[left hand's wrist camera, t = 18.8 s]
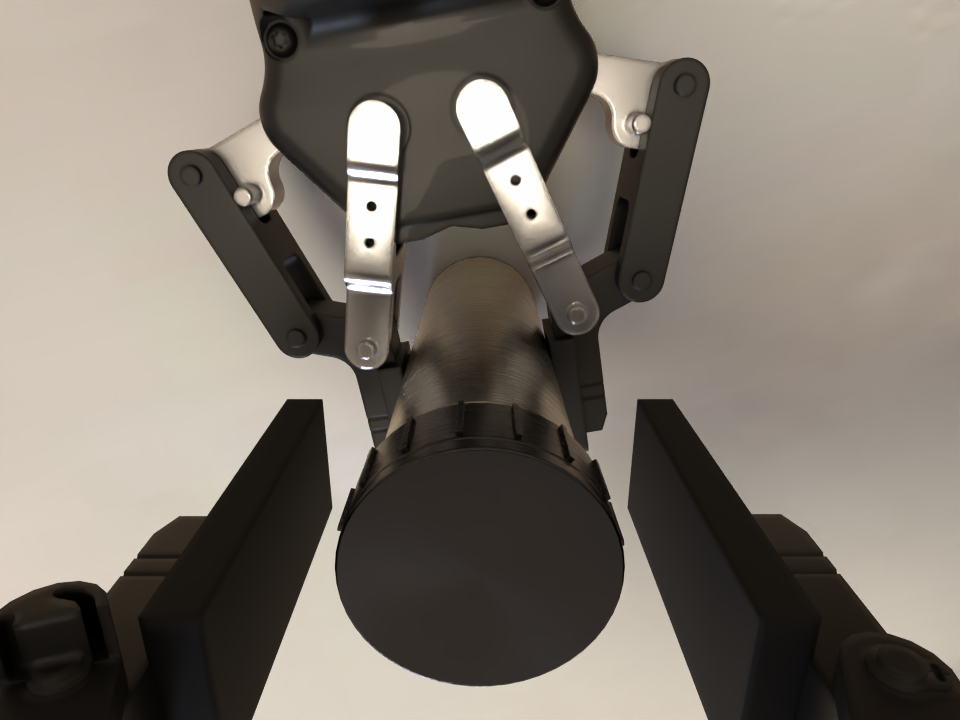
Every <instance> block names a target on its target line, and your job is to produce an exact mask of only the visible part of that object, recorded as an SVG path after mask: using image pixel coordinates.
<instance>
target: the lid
mask: <svg viewBox="0 0 960 720" xmlns="http://www.w3.org/2000/svg"><path fill="white" fill-rule="evenodd" d="M609 499H611V498H610V495H609V492H608V489H607V486H606V484H605V481H604V478H603V475H602V472H601V469H600V466H599V463H598V461H597V460H596V459H595V460H593V461H592V460H591V458H590V457H589V455H588V454H587V453H586V451H585V450H584V449H583V448H582V446H581V445H580V444H579V443H578V442H577V441H576V440H575V439H574V438H573V437H572V436H571V435H570V434H569V433H568V432H567V428H566V426H564V425H563V424H561V425H560V426H558V425H556V424H555V423H553V422H551V421H550V420H548V419H546V418H544V417H542V416H540V415H538V414H535V413H533V412H530V411H527V410H525V409H522V408H519V404H515V403H513V404H512V406H509V405H505V404H496V403H464V400H462V401H458V404H455V405H450V406H446V407H442V408H438V409H435V410H432V411H430V412H427V413H425V414H422V415H420V416H418V417H416V418H414V417H413V416H410V417H408V418H407V421H406V423H405V424H403V425H402V426H401V427H399V428H398V429H396V430H395V431H394V432H392V433H391V434H390V435H389V436H388V437H387V438H386V439H385V440H384V441H383V442H382V443H381V444H380V445H379V446H378V447H377V448H376V449H375V448H374V447H372V448H371V449H370V451H369V453H368V456H367V459H366V462H365V465H364V468H363V470H362V473H361V475H360V478H359V480H358V483H357V486H356V489H353V488H351V490H350V493H349V496H348V499H347V502H346V505H345V507H344V510H343V513H342V516H341V519H340V522H339V525H338V529H337V530H338V531H341V533H340V536H339V540H338V545H337V549H336V558H335V574H336V584H337V587H338V591H339V595H340V599H341V601H342V604H343V606H344V608H345V611H346V613H347V615H348V617H349V618H350V620H351V622H352V623H353V625H354V627H355V628H356V629H357V630H358V632H359V633H360V634H361V635H362V637H363V638H364V639H365V640H366V641H367V642H368V643H369V644H370V645H371V646H372V647H373V648H374V649H375V650H376V651H378V652H379V653H380V654H382V655H383V656H384V657H386V658H387V659H388V660H390V661H391V662H393V663H395V664H397V665H398V666H400V667H402V668H404V669H406V670H408V671H410V672H413V673H415V674H417V675H419V676H422V677H425V678H429V679H432V680H435V681H439V682H444V683H449V684H454V685H464V686H496V685H506V684H511V683H516V682H521V681H525V680H528V679H531V678H534V677H537V676H540V675H543V674H545V673H547V672H549V671H552V670H554V669H556V668H558V667H560V666H561V665H563V664H565V663H566V662H568V661H570V660H571V659H573V658H574V657H575V656H577V655H578V654H579V653H581V652H582V651H583V650H584V649H585V648H586V647H588V646H589V645H590V644H591V643H592V642H593V641H594V640H595V639H596V637H597V636H598V635H599V634H600V633H601V631H602V630H603V629H604V628H605V626H606V624H607V623H608V621H609V619H610V618H611V616H612V614H613V613H614V610H615V608H616V605H617V603H618V601H619V598H620V594H621V590H622V586H623V581H624V570H625V563H624V551H623V546H624V539H623V536H622V533H621V530H620V527H619V525H618V522H617V519H616V516H615V513H614V510H613V507H612V504H611V502H609V501H608V500H609Z"/></svg>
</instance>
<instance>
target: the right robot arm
mask: <svg viewBox="0 0 960 720" xmlns="http://www.w3.org/2000/svg"><path fill="white" fill-rule="evenodd" d="M250 4H251V8H252V12H253V16H254V19H255V23H256V27H257V30H258V33H259V37H260V40H261V44H262V47H263V52H264V59H265V77H264V84H263V89H262V93H261V97H260V104H259V112H260V119H258V120H257V121H255V122H253V123H251V124H250V125H248V126H246V127H245V128H243V129H241V130H240V131H238V132H236V133H234V134H233V135H231V136H229V137H228V138H226V139H224V140H222V141H221V142H219V143H217V144H216V145H214V146H212V147H211V148H205V149H196V150H187V151H182V152H179V153H178V154H176V155H175V156H174V157H173V158H172V159H171V161H170V163H169V166H168V178H169V181H170V184H171V185H172V187H173V189H174V190H175V192H176V193H177V195H178V196H179V198H180V199H181V201H182V202H183V204H184V205H185V207H186V208H187V210H188V211H189V213H190V214H191V216H192V217H193V219H194V220H195V222H196V223H197V225H198V226H199V228H200V230H201V231H202V233H203V234H204V236H205V237H206V239H207V240H208V242H209V243H210V245H211V246H212V248H213V249H214V251H215V252H216V254H217V255H218V257H219V258H220V260H221V261H222V263H223V264H224V266H225V267H226V269H227V270H228V272H229V273H230V275H231V276H232V278H233V279H234V281H235V282H236V284H237V285H238V287H239V288H240V290H241V292H242V293H243V295H244V296H245V298H246V299H247V301H248V302H249V304H250V305H251V307H252V308H253V310H254V311H255V313H256V314H257V316H258V317H259V319H260V320H261V322H262V323H263V325H264V326H265V328H266V329H267V331H268V332H269V334H270V335H271V337H272V338H273V340H274V341H275V343H276V344H277V346H278V347H279V349H280V350H281V351H282V352H283V353H285V354H286V355H288V356H290V357H294V358H304V357H307V356H309V355H311V354H317V355H323V356H329V357H334V358H338V359H340V360H342V361H344V362H346V363H347V364H348V365H349V366H350V367H351V368H352V369H353V371H354V373H355V374H356V377H357V381H358V385H359V388H360V392H361V396H362V400H363V404H364V408H365V412H366V415H367V418H368V423H369V427H370V431H371V435H372V439H373V443H374V446H375V449H376V448H377V447H378V446H379V445H380V444H381V443H382V442H383V441H384V440H385V439H386V435H387V432H388V428H389V425H390V422H391V418H392V415H393V412H394V408H395V405H396V401H397V398H398V395H399V391H400V388H401V384H402V381H403V378H404V374H405V371H406V367H407V364H408V361H409V357H410V354H411V349H410V345H409V341H407V342H400V338H399V333H398V328H399V317H400V303H401V290H402V276H403V268H404V263H405V255H406V243H407V242H411V241H416V240H422V239H425V238H427V237H429V236H431V235H433V234H435V233H437V232H440V231H442V230H444V229H446V228H448V227H451V226H458V227H469V228H480V229H484V228H490V227H495V226H501V225H507V224H509V226H510V228H511V230H512V232H513V234H514V236H515V238H516V240H517V242H518V245H519V247H520V249H521V251H522V253H523V255H524V257H525V259H526V261H527V263H528V265H529V267H530V269H531V271H532V273H533V275H534V277H535V279H536V281H537V283H538V285H539V288H540V290H541V292H542V294H543V296H544V298H545V300H546V304H547V310H548V317H549V318H547V319H542V322H543V329H544V336H545V341H546V344H547V348H548V351H549V355H550V358H551V361H552V365H553V368H554V372H555V375H556V379H557V382H558V385H559V389H560V392H561V396H562V399H563V402H564V406H565V409H566V413H567V416H568V419H569V423H570V426H571V430H572V433H573V436H574V439H575V440H576V441H577V442H578V443H579V444H580V445H581V446H582V448H583V449H584V450H585V451H588V440H587V433H586V432H593V431H599V430H602V429H603V426H604V422H605V419H606V416H607V409H606V400H605V392H604V384H603V375H602V367H601V359H600V350H599V342H598V332H599V328H600V325H601V323H602V322H603V320H604V319H605V318H606V316H607V315H609V314H610V313H611V312H613V311H614V310H616V309H618V308H620V307H622V306H624V305H626V304H628V303H629V302H631V301H634V302H645V301H649V300H651V299H653V298H654V297H655V296H656V295H657V294H658V293H659V292H660V291H661V289H662V287H663V284H664V280H665V276H666V272H667V267H668V263H669V259H670V255H671V250H672V246H673V242H674V237H675V233H676V229H677V225H678V220H679V216H680V212H681V207H682V203H683V199H684V195H685V190H686V186H687V182H688V178H689V173H690V169H691V165H692V160H693V156H694V152H695V148H696V143H697V139H698V135H699V130H700V126H701V122H702V118H703V113H704V109H705V105H706V101H707V96H708V92H709V87H710V77H709V73H708V71H707V69H706V67H705V66H704V65H703V64H702V63H701V62H700V61H698V60H696V59H694V58H681V59H673V60H669V61H666V62H663V63H659V62H652V61H645V60H638V59H631V58H624V57H617V56H610V55H603V54H597V50H596V47H595V44H594V42H593V40H592V38H591V36H590V34H589V33H588V32H587V30H586V29H585V27H584V26H583V24H582V23H581V21H580V20H579V18H578V16H577V14H576V12H575V10H574V7H573V4H572V1H571V0H250ZM589 96H592V97H594V98H596V99H597V100H598V101H599V102H600V103H601V104H602V106H603V108H604V110H605V115H606V125H605V126H606V132H607V134H608V137H609V138H610V139H611V141H612V142H614V143H615V144H616V145H619V146H622V147H625V149H624V154H623V159H622V164H621V169H620V174H619V179H618V184H617V189H616V194H615V200H614V205H613V210H612V215H611V220H610V225H609V230H608V235H607V240H606V245H605V250H604V253H603V254H601V255H600V256H598V257H596V258H594V259H592V260H590V261H589V262H587V263H585V264H583V265H581V266H580V263H579V261H578V259H577V257H576V254H575V252H574V250H573V247H572V244H571V241H570V239H569V237H568V234H567V232H566V230H565V227H564V225H563V223H562V221H561V218H560V216H559V214H558V212H557V210H556V207H555V205H554V203H553V201H552V198H551V196H550V194H549V192H548V189H547V187H546V185H545V183H546V181H547V179H548V177H549V175H550V173H551V171H552V169H553V167H554V165H555V163H556V161H557V159H558V157H559V155H560V153H561V151H562V149H563V147H564V145H565V143H566V141H567V140H568V138H569V136H570V134H571V132H572V130H573V128H574V126H575V124H576V122H577V120H578V118H579V116H580V114H581V112H582V110H583V108H584V106H585V104H586V102H587V100H588V98H589ZM283 155H284V156H285V157H286V158H287V159H288V160H289V161H291V162H292V163H293V164H294V165H295V166H296V167H297V168H298V169H299V170H300V171H301V172H303V173H304V174H305V175H306V176H307V177H308V178H309V179H310V180H311V181H312V182H313V183H314V184H316V185H317V186H318V187H319V188H320V189H321V190H322V191H323V192H324V193H325V194H326V195H327V196H328V197H330V198H331V199H332V200H333V201H334V202H335V203H336V204H337V205H338V206H339V207H340V208H341V209H343V210H344V211H345V212H346V213H347V217H346V241H345V265H344V280H345V284H346V287H347V302H346V303H342V302H336V301H332V299H331V298H330V296H329V294H328V293H327V291H326V290H325V288H324V286H323V285H322V283H321V281H320V280H319V278H318V277H317V275H316V273H315V272H314V270H313V268H312V267H311V265H310V264H309V262H308V260H307V259H306V257H305V255H304V254H303V252H302V251H301V249H300V247H299V246H298V244H297V242H296V241H295V239H294V238H293V236H292V234H291V233H290V231H289V229H288V228H287V226H286V225H285V223H284V221H283V220H282V218H281V216H280V215H279V213H278V211H277V210H276V209H277V208H278V207H279V206H280V205H281V204H282V202H283V199H284V193H285V192H284V186H283V183H282V181H281V179H280V175H279V163H280V160H281V158H282V157H283Z"/></svg>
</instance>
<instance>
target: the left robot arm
mask: <svg viewBox="0 0 960 720" xmlns="http://www.w3.org/2000/svg"><path fill="white" fill-rule="evenodd" d="M331 510H332V498H331V487H330V477H329V466H328V455H327V444H326V433H325V422H324V411H323V400H322V399H287V401H286V402H285V403H284V405H283V406H282V408H281V409H280V411H279V412H278V414H277V415H276V417H275V418H274V419H273V421H272V422H271V424H270V425H269V427H268V428H267V430H266V431H265V433H264V434H263V436H262V437H261V438H260V440H259V441H258V443H257V444H256V446H255V447H254V449H253V450H252V452H251V453H250V454H249V456H248V457H247V459H246V460H245V462H244V463H243V465H242V466H241V468H240V469H239V470H238V472H237V473H236V475H235V476H234V478H233V479H232V481H231V482H230V484H229V485H228V486H227V488H226V489H225V491H224V492H223V494H222V495H221V497H220V498H219V500H218V501H217V503H216V504H215V505H214V507H213V508H212V510H211V511H210V513H209V514H208V516H179V517H178V518H176V519H175V520H173V521H172V522H170V523H169V524H167V525H166V526H165V527H163V528H162V529H160V530H159V531H157V532H156V533H154V534H153V536H152V537H151V538H150V539H149V541H148V542H147V543H146V544H145V546H144V547H143V548H142V550H141V551H140V552H139V553H138V557H137V559H134V560H133V561H132V562H131V564H130V565H129V566H128V567H127V569H126V570H125V571H124V576H120V578H119V579H118V580H117V581H116V583H115V584H114V585H113V586H112V588H111V589H110V590H109V592H108V593H106V592H105V591H104V590H103V589H102V588H100V587H99V586H98V585H97V584H93V583H87V582H82V581H74V582H63V583H56V584H53V585H49V586H46V587H43V588H39V589H36V590H33V591H31V592H29V593H27V594H25V595H23V596H21V597H19V598H17V599H15V600H13V601H11V602H9V603H8V604H7V605H5V606H4V607H3V608H1V609H0V720H252V718H253V715H254V713H255V710H256V708H257V705H258V702H259V700H260V697H261V694H262V692H263V689H264V686H265V684H266V681H267V679H268V676H269V673H270V671H271V668H272V665H273V663H274V660H275V657H276V655H277V652H278V650H279V647H280V644H281V642H282V639H283V636H284V634H285V631H286V628H287V626H288V623H289V621H290V618H291V615H292V613H293V610H294V607H295V605H296V602H297V600H298V597H299V594H300V592H301V589H302V586H303V584H304V581H305V578H306V576H307V573H308V571H309V568H310V565H311V563H312V560H313V557H314V555H315V552H316V549H317V547H318V544H319V542H320V539H321V536H322V534H323V531H324V528H325V526H326V523H327V520H328V518H329V515H330V513H331ZM628 510H629V513H630V515H631V518H632V520H633V523H634V526H635V528H636V531H637V534H638V536H639V539H640V542H641V544H642V547H643V549H644V552H645V555H646V557H647V560H648V563H649V565H650V568H651V571H652V573H653V576H654V578H655V581H656V584H657V586H658V589H659V592H660V594H661V597H662V600H663V602H664V605H665V607H666V610H667V613H668V615H669V618H670V621H671V623H672V626H673V628H674V631H675V634H676V636H677V639H678V642H679V644H680V647H681V650H682V652H683V655H684V657H685V660H686V663H687V665H688V668H689V671H690V673H691V676H692V679H693V681H694V684H695V686H696V689H697V692H698V694H699V697H700V700H701V702H702V705H703V708H704V710H705V713H706V715H707V718H708V720H960V681H959V679H958V678H957V676H956V675H955V673H954V672H953V670H952V669H951V668H950V667H949V666H947V665H946V664H945V663H944V662H943V661H942V660H940V659H939V658H938V657H937V656H936V655H935V654H933V653H932V652H930V651H928V650H926V649H924V648H923V647H921V646H919V645H917V644H915V643H914V642H912V641H909V640H906V639H903V638H900V637H897V636H894V635H891V634H887V633H886V632H885V630H884V629H883V628H882V626H881V625H880V624H879V623H878V621H877V620H876V619H875V618H874V616H873V615H872V614H871V613H870V611H869V610H868V609H867V607H866V606H865V605H864V604H863V602H862V601H861V600H860V599H859V597H858V596H857V595H856V594H855V592H854V591H853V590H852V589H851V587H850V586H849V585H848V583H847V582H846V581H845V580H844V578H843V577H842V576H841V575H840V574H837V570H836V568H835V567H834V566H833V564H832V563H831V562H830V561H829V559H828V558H827V557H824V556H823V552H822V551H821V549H820V548H819V547H818V546H817V544H816V543H815V542H814V540H813V539H812V538H811V537H810V535H809V534H808V533H807V532H806V531H805V530H803V529H802V528H800V527H799V526H797V525H796V524H794V523H793V522H792V521H790V520H789V519H787V518H786V517H784V516H783V515H781V514H751V513H750V511H749V510H748V508H747V507H746V505H745V504H744V503H743V501H742V500H741V498H740V497H739V495H738V494H737V492H736V491H735V489H734V488H733V486H732V485H731V484H730V482H729V481H728V479H727V478H726V476H725V475H724V473H723V472H722V470H721V469H720V468H719V466H718V465H717V463H716V462H715V460H714V459H713V457H712V456H711V454H710V453H709V452H708V450H707V449H706V447H705V446H704V444H703V443H702V441H701V440H700V438H699V437H698V436H697V434H696V433H695V431H694V430H693V428H692V427H691V425H690V424H689V422H688V421H687V419H686V418H685V417H684V415H683V414H682V412H681V411H680V409H679V408H678V406H677V405H676V403H675V402H674V401H673V399H638V400H637V411H636V422H635V433H634V444H633V455H632V466H631V477H630V487H629V498H628Z"/></svg>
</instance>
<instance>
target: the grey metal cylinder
mask: <svg viewBox="0 0 960 720" xmlns="http://www.w3.org/2000/svg"><path fill="white" fill-rule="evenodd" d="M462 400H464V403H496V404H505V405H509V406H512V404H513V403H515V404H519V408H522V409H525V410H527V411H530V412H533V413H535V414H538V415H540V416H542V417H544V418H546V419H548V420H550V421H551V422H553V423H555V424H556V425H558V426H560V425H561V424H563V425H564V426H566V428H567V432H568V433H569V434H570V435H571V436H572V437H573V438H574V436H573V433H572V430H571V426H570V423H569V419H568V416H567V413H566V409H565V406H564V402H563V399H562V396H561V392H560V389H559V385H558V382H557V379H556V375H555V372H554V368H553V365H552V361H551V358H550V355H549V351H548V348H547V344H546V341H545V338H544V334H543V331H542V327H541V324H540V321H539V317H538V314H537V310H536V307H535V304H534V300H533V297H532V293H531V291H530V288H529V286H528V284H527V283H526V281H525V280H524V278H523V277H522V276H521V275H520V274H519V273H518V272H517V271H516V270H515V269H514V268H512V267H511V266H510V265H508V264H506V263H504V262H502V261H499V260H497V259H493V258H487V257H473V258H467V259H464V260H460V261H458V262H456V263H454V264H452V265H451V266H449V267H447V268H446V269H445V270H444V271H443V272H442V273H441V274H440V275H439V276H438V277H437V278H436V280H435V281H434V282H433V284H432V286H431V288H430V291H429V293H428V296H427V300H426V303H425V307H424V310H423V313H422V317H421V320H420V323H419V327H418V330H417V334H416V337H415V340H414V344H413V347H412V351H411V354H410V357H409V361H408V364H407V367H406V371H405V374H404V378H403V381H402V384H401V388H400V391H399V395H398V398H397V401H396V405H395V408H394V412H393V415H392V418H391V422H390V425H389V428H388V432H387V435H386V438H387V437H388V436H389V435H390V434H391V433H392V432H394V431H395V430H396V429H398V428H399V427H401V426H402V425H403V424H405V423H406V421H407V418H408V417H410V416H413V417H414V418H416V417H418V416H420V415H422V414H425V413H427V412H430V411H432V410H435V409H438V408H442V407H446V406H450V405H455V404H458V401H462Z"/></svg>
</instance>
